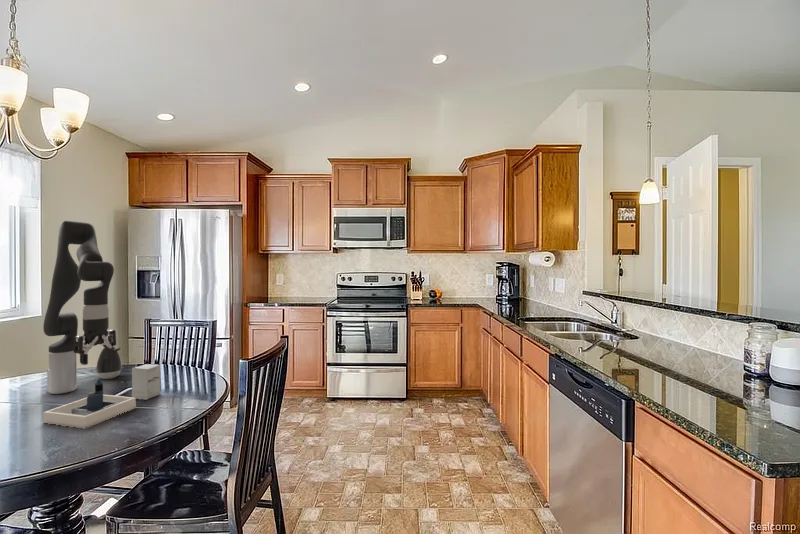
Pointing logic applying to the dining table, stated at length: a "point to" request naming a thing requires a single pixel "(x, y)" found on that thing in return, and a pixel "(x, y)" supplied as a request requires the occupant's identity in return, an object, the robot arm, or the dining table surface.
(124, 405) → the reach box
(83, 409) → the inlet socket
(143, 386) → the supplement box
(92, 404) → the vaping device
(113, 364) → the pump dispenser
